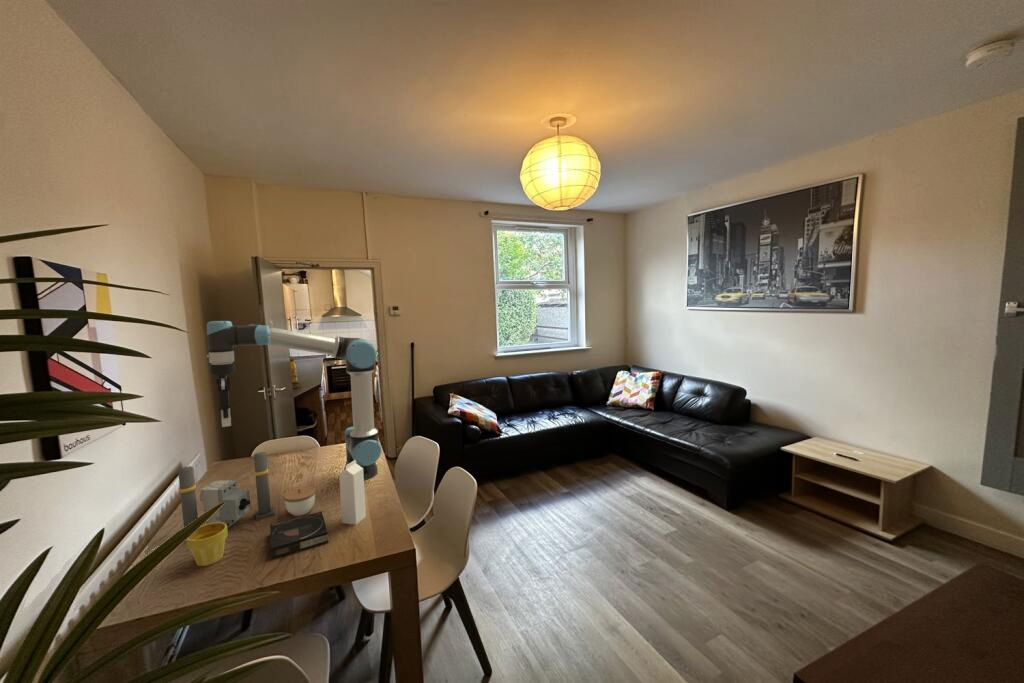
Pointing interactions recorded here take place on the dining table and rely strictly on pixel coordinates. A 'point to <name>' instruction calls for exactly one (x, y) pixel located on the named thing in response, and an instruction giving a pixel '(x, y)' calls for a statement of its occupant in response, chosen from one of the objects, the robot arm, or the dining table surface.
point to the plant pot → (208, 543)
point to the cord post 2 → (262, 487)
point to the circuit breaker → (228, 493)
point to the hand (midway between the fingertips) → (226, 425)
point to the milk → (352, 494)
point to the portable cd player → (297, 534)
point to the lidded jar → (299, 500)
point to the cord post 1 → (187, 494)
